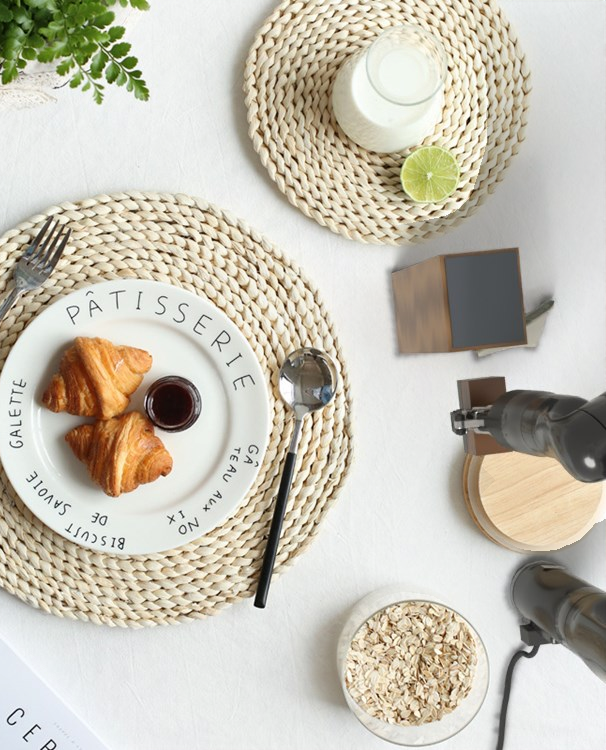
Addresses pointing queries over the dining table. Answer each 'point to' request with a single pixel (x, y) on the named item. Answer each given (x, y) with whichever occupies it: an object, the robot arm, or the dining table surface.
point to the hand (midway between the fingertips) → (479, 414)
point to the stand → (433, 306)
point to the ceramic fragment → (528, 328)
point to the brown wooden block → (483, 395)
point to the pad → (484, 299)
